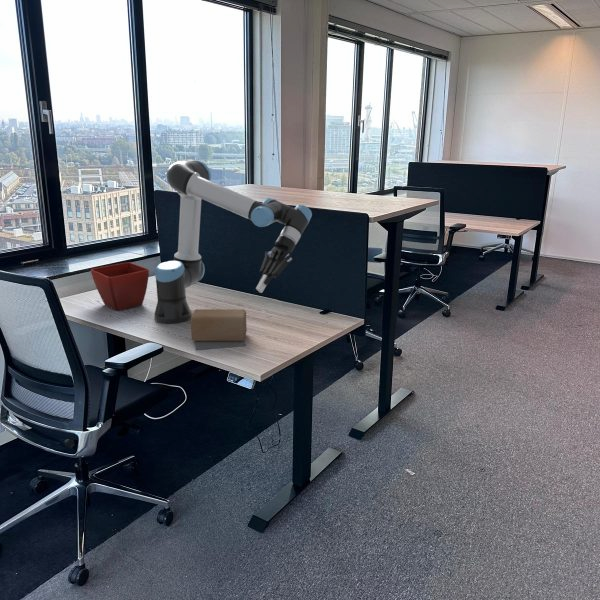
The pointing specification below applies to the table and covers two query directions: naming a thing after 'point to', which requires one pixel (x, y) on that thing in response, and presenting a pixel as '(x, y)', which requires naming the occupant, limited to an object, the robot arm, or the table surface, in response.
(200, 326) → the block
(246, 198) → the robot arm
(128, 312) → the table surface
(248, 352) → the table surface
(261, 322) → the table surface
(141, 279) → the plant pot
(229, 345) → the mat
